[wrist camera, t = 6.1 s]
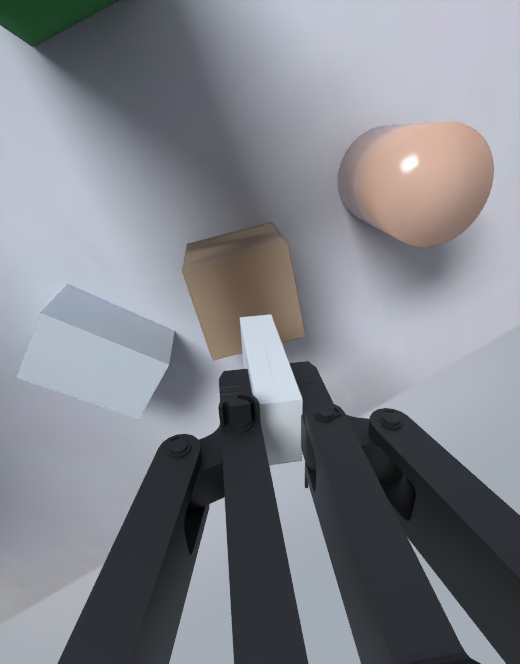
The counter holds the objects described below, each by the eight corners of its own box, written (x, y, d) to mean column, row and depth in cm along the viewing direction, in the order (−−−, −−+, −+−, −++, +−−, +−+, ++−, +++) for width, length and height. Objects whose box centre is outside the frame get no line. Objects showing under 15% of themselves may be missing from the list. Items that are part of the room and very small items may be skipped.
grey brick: (45, 339, 28) (15, 377, 23) (68, 283, 26) (40, 312, 22) (148, 378, 30) (138, 419, 26) (174, 330, 29) (169, 364, 24)
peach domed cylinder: (335, 224, 26) (374, 251, 20) (340, 128, 24) (387, 125, 18) (416, 218, 27) (478, 242, 21) (430, 123, 24) (507, 119, 18)
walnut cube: (211, 319, 29) (212, 360, 23) (187, 243, 26) (181, 271, 21) (287, 299, 29) (305, 336, 23) (271, 222, 26) (288, 244, 21)
